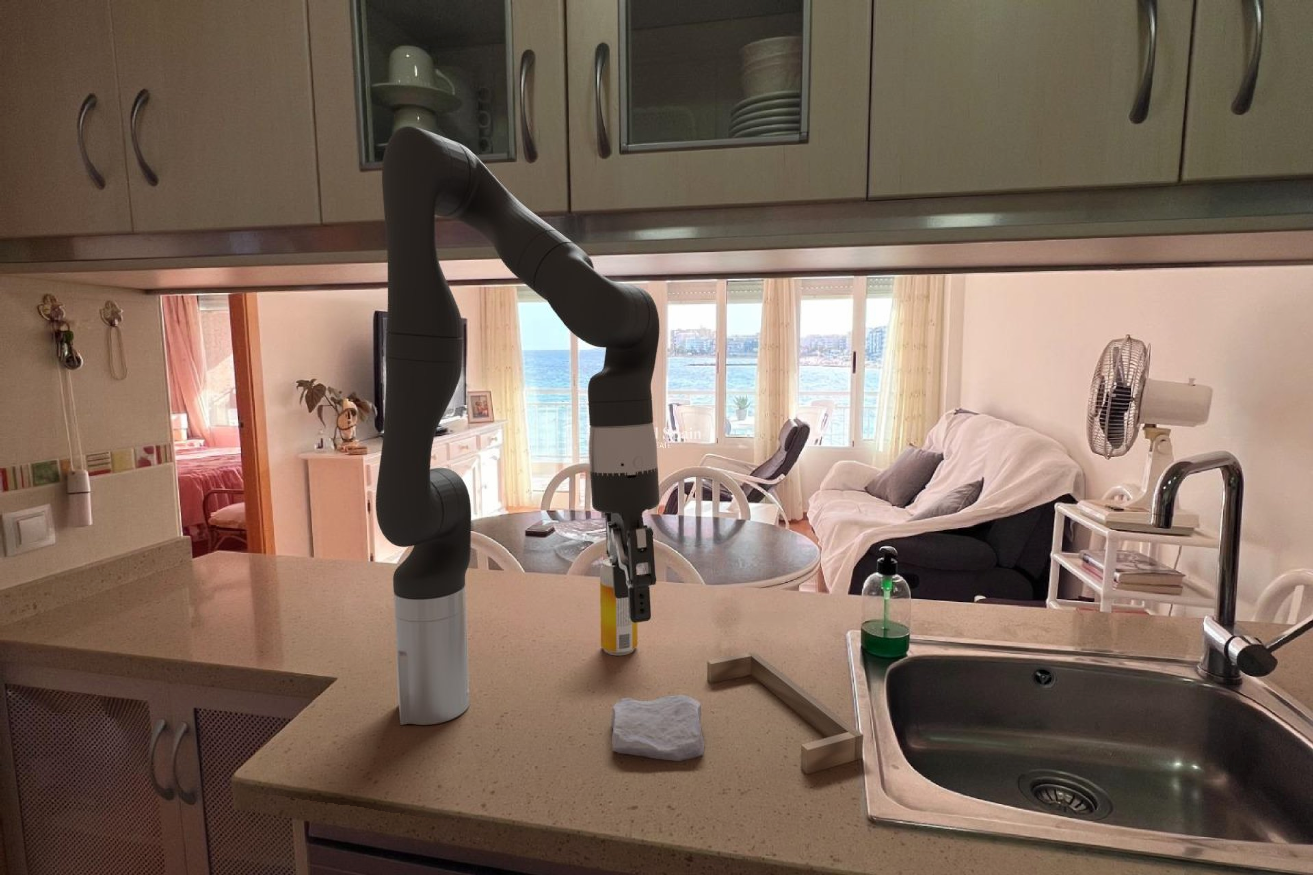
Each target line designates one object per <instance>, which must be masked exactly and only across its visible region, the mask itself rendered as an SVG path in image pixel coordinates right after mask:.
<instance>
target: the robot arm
mask: <svg viewBox="0 0 1313 875" xmlns="http://www.w3.org/2000/svg"><path fill="white" fill-rule="evenodd" d="M381 168H382V170H381V186H382V201H383V202H382V203H383V212H384V224H385V225H384V226H385V237H386V238H385V239H386V252H387V253H386V258H387V310H386V311H387V312H386V313H387V314H386V315H387V316H386V328H385V330H386V332H385V400H384V405H385V406H384V420H383V421H384V422H383V434H382V435H383V436H382V446H381V451H380V460H379V469H378V475H377V476H378V477H377V484H376V492H375V513H376V521H377V524H378V526H379V529H380V531H381V533H382V535H383V536H384V538H385V539H386V540H387V541H388V542H389V543H391V545H394V546H396V547H400V548H409V547H412V549H411V551H410V552H409V554H408V556H407V557H406V558H405V559H404V561H402V562H401V564H399V565H398V567H396V569H395V571H394V572H393V577H392V583H393V584H392V586H393V587H392V588H393V598H394V599H393V601H394V603H393V604H394V622H395V623H394V624H395V626H394V627H395V654H396V655H395V656H396V660H395V661H396V677H397V679H396V680H397V696H398V697H397V698H398V701H397V702H398V710H399V711H398V712H399V724H400V725H402V726H403V725H407V724H410V725H411V724H413V725H417V726H418V725H419V726H427V725H428V726H429V725H436V724H441V723H445V722H448V721H451V720H453V719H455V718H457V717H459V716H461V715H462V714H463V713H464V712H466V711H467V709H468V708H469V706H470V685H469V684H470V683H469V682H470V680H469V679H470V678H469V676H470V675H469V656H468V654H469V651H468V625H467V623H468V622H467V595H466V594H467V592H466V573H467V570H468V568H469V565H470V562H471V554H472V553H471V552H472V551H471V549H472V548H471V547H472V546H471V545H472V544H471V543H472V542H471V540H472V539H471V538H472V504H471V499H470V493H469V491H468V487H467V485H466V483H465V481H464V480H463V478H462V477H461V476H460V475H459V474H458V473H457V472H455V471H454V470H452V469H450V468H444V467H435V468H431V463H432V462H431V460H432V451H433V450H432V449H433V444H434V439H435V435H436V433H437V430H438V427H439V425H440V423H441V421H442V419H443V416H444V414H445V413H446V410H447V409H448V407H449V404H450V403H451V400H452V398H453V396H454V395H455V392H456V390H457V387H458V384H459V382H460V378H461V375H462V374H461V373H462V367H463V366H462V365H463V364H462V363H463V362H462V361H463V342H464V341H463V340H464V338H463V337H464V325H463V320H462V316H461V315H462V314H461V312H460V309H459V307H458V304H457V302H456V299H455V297H454V294H453V292H452V290H451V288H450V286H449V284H448V281H447V279H446V277H445V275H444V272H443V269H442V267H441V263H440V261H439V257H438V251H437V246H436V245H437V243H436V224H435V223H436V216H438V217H442V218H451V219H455V220H457V221H458V222H459V221H460V222H461V223H463V224H465V225H468V226H469V227H471V228H473V229H475V230H476V231H478V232H480V233H481V234H482V235H483V236H484V237H486V238H487V239H488V240H489V241H490V243H491V244H492V245H493V247H494V249H495V251H496V253H497V255H498V256H499V259H500V260H501V261H502V262H503V264H504V265H505V267H507V269H508V270H509V271H510V272H511V273H512V274H513V275H514V276H515V277H516V278H517V279H519V280H520V281H521V282H522V283H524V284H525V285H526V286H527V287H528V288H530V289H531V290H533V292H535V293H536V294H537V295H539V297H541V298H542V299H543V300H545V301H546V302H547V303H548V305H549V306H550V308H551V309H552V311H553V312H554V313H555V314H556V316H557V317H558V318H559V320H560V321H561V323H563V324H564V326H565V327H566V328H567V329H568V330H569V331H570V332H571V333H572V334H573V335H574V336H576V337H577V338H578V339H580V340H581V341H583V342H584V343H586V344H588V345H590V346H592V347H596V348H604V349H605V352H604V353H605V354H604V362H603V367H602V370H601V371H599V372H597V373H595V374H594V375H593V376H591V377H590V378H589V381H588V384H587V401H588V403H587V404H588V405H587V406H588V419H589V420H588V422H589V437H588V438H589V439H588V463H589V477H590V478H589V480H590V494H591V497H590V498H591V505H592V506H591V507H592V508H593V509H594V510H595V511H597V512H599V513H602V514H604V517H605V518H604V519H605V520H604V522H605V541H606V542H605V543H606V550H605V553H606V555H607V558H610V559H609V562H610V564H611V566H614V567H612V572H613V589H614V595H615V597H616V598H618V599H619V598H627V597H628V600H629V617H630V619H631V621H632V622H634V623H637V624H638V623H644V622H648V621H650V620H651V618H652V610H651V588H650V587H651V586H655V585H656V584H657V575H656V562H655V548H654V530H653V528H652V527H651V526H648V525H647V524H645V523H644V518H643V513H644V512H645V511H647V510H653V509H655V508H656V507H658V506H659V504H660V487H659V484H660V483H659V482H660V481H659V467H658V466H659V465H658V448H657V447H658V446H657V438H656V434H655V428H654V412H653V394H652V382H653V381H652V379H653V376H654V371H655V367H656V359H657V353H658V347H659V340H660V329H661V328H660V316H659V312H658V307H657V305H656V303H655V301H654V299H653V297H652V296H651V295H650V293H649V292H648V291H646V290H645V289H643V288H642V287H640V286H636V285H633V284H628V283H621V282H619V281H613V280H611V279H609V278H607V277H606V276H604V275H603V274H601V273H599V272H598V271H596V270H595V267H594V264H593V261H592V259H591V258H590V256H589V255H588V254H587V253H586V252H585V251H584V250H583V249H582V248H580V247H579V246H578V245H576V244H575V243H574V242H573V241H572V240H570V239H569V238H567V237H566V236H565V235H564V234H562V233H560V231H558V230H557V229H555V228H554V227H553V226H551V225H550V224H548V223H547V222H546V221H544V220H543V219H542V218H541V217H539V216H538V215H537V214H535V213H534V212H533V211H531V210H530V209H529V208H527V206H525V205H524V204H523V203H522V202H520V201H519V200H518V199H517V198H516V197H515V196H514V195H513V194H512V193H511V192H510V191H509V190H508V189H507V188H506V187H505V185H503V184H502V183H501V182H500V181H499V180H498V179H497V177H496V176H495V175H494V174H493V173H492V171H490V170H489V168H488V167H487V166H486V165H485V164H484V163H483V162H482V161H481V159H480V158H479V157H478V156H477V155H476V154H474V153H473V152H472V151H471V150H470V149H469V148H468V147H467V146H465V145H463V144H461V143H459V142H457V141H455V140H451V139H449V138H446V137H444V136H442V135H440V134H436V133H435V132H431V131H428V130H425V129H422V128H420V127H418V126H417V127H416V126H413V125H407V126H406V125H405V126H402V127H399V128H398V129H397V130H395V131H394V132H393V134H392V135H391V136H390V137H389V139H388V141H387V144H386V146H385V150H384V153H383V156H382V166H381ZM636 568H637V570H636ZM638 568H641V569H642V573H641V574H638Z"/></svg>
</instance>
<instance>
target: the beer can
mask: <svg viewBox="0 0 1313 875" xmlns="http://www.w3.org/2000/svg"><path fill="white" fill-rule="evenodd" d="M609 559H610V557H607V558H605V559H604V560H602V564H601V565H600V569H599V577H600V579H599V580H600V581H599V584H600V585H599V587H600V590H599V592H600V594H599V595H600V597H599V599H600V602H599V603H600V606H599V607H600V646H601V649H603V650H604V652H605V653H606V654H608V655H612V656H626V655H629V654H632V653H633V652H634V650H635V649H636V648H637V647H638V622H637V623H634V622H632V621H631V619H630V617H629V600H628V597H627V598H619V599H618V598H616V597H615V595H614V589H613V572H612V567H614V566H611V564H610V562H609ZM636 570H637V571H638V567H637V568H636Z"/></svg>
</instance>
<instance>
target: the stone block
mask: <svg viewBox="0 0 1313 875" xmlns="http://www.w3.org/2000/svg"><path fill="white" fill-rule="evenodd" d="M611 716H612V717H611V723H610V724H611V728H612V736H611V746H612V751H613V752H615V753H618V754H624V755H625V754H628V755H632V756H641V757H647V758H650V759H657V760H663V761H664V760H666V761H674V762H681V761H685V760H691V759H694V758H698V757H701V756H703V755H704V752H705V751H704V750H705V747H706V746H705V745H706V744H705V742H704V738H703V737H704V736H703V733H702V727H701V720H702V719H701V718H702V708H701V703H700V702H699V701H698V700H697V699H695V698H694V697H691V696H689V695H688V696H687V695H684V694H678V695H671V696H661V697H659V698H657V699H654V700H648V701H647V700H646V701H645V700H635V699H633V698H631V697H624V698H621V699H620V700H618V701H617V702H616V703H615V704H614V706H613V707H612V715H611Z"/></svg>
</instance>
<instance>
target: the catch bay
mask: <svg viewBox="0 0 1313 875" xmlns="http://www.w3.org/2000/svg"><path fill="white" fill-rule="evenodd" d="M706 666H707V667H706V670H707V671H706V672H707V673H706V679H707V680H706V681H708V683H710V684H714V683H718V682H723V681H728V680H732V679H733V680H734V679H737V678H741V677H746V676H752V677H753V678H754V679H755V680H757V681H758V682H759V683H760V684H761V685H763V686H764V687H765V688H766V689H767V690H769V691H770V692H771V693H772V694H773V695H775V696H776V697H777V698H778V699H779V700H781V701H782V702H783V703H784V704H786V705H787V706H788V707H789V708H791V710H793V711H794V712H795V713H796V714H798V715H799V716H800V717H802V719H804V720H805V721H806V722H807V723H808V724H810V725H811V726H812V727H814V728H815V729H816V730H817V731H818V732H820V733H821V734H822V735H823V736H824V738H821V739H818V740H813V741H810V742H806V743H803V744H800V745H801V746H800V770H802V771H803V773H804V774H806V775H809V774H813V773H816V772H819V771H823V770H826V769H830V768H833V767H837V766H840V765H843V764H847V763H850V762H853V761H857V760H861V759H863V754H864V752H863V750H864V734H863V733H862V732H861V731H859V730H858V729H856V728H855V727H854V726H853V725H851V724H850V723H848V722H847V721H846V720H844V719H843V718H842V717H841V716H839V715H838V714H837V713H835V712H834V711H833V710H831V709H830V708H829V707H827V706H826V705H825V704H823V702H821V701H819V700H818V698H815V697H814V696H813V695H812V694H810V693H809V692H808V691H806V690H805V689H803V687H801V686H800V685H798V684H797V682H795V681H793V680H792V679H791V678H789V677H788V676H787V675H785V674H784V673H783V672H782V671H780V670H779V669H777V668H776V667H775V666H774V665H772V664H771V663H770V662H768V661H767V660H766V659H764V658H763V657H762V656H760V654H758V653H756V652H755V651H750V652H745V653H739V654H734V655H729V656H724V657H719V658H715V659H713V658H712V659H710V660H707V663H706Z"/></svg>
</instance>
